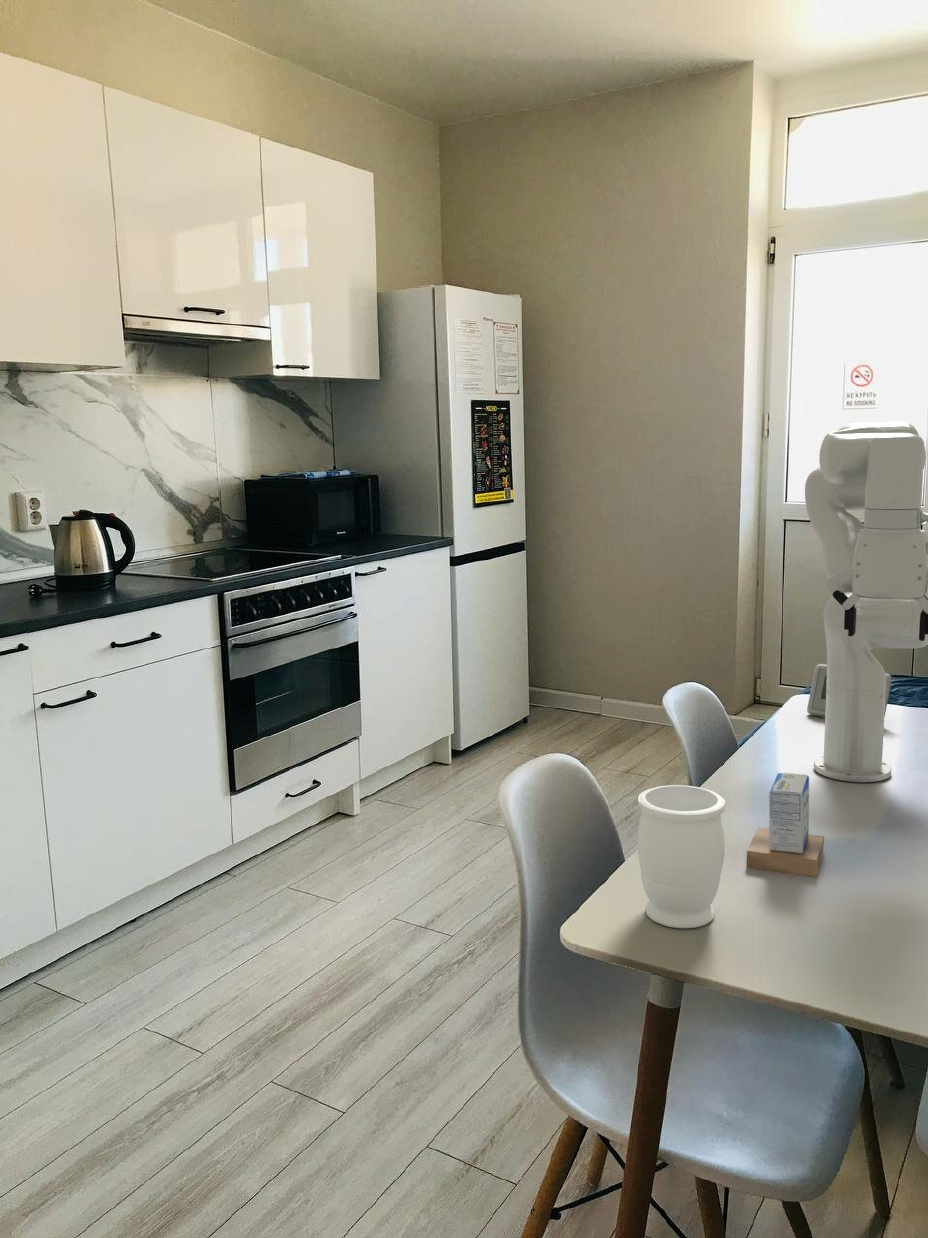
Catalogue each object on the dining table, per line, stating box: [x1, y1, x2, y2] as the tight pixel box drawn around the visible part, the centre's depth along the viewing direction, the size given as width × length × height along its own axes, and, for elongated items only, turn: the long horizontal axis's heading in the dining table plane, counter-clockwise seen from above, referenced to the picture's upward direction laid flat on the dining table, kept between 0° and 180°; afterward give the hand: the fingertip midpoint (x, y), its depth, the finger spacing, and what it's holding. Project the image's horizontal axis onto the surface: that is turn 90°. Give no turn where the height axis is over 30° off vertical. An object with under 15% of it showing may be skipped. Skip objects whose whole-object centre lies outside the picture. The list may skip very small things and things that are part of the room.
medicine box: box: [768, 772, 810, 854], centre depth 138 cm, size 8×4×9 cm, turn 156°
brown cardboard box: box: [746, 827, 825, 879], centre depth 139 cm, size 9×9×3 cm
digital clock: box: [806, 663, 892, 719], centre depth 207 cm, size 16×9×11 cm, turn 34°
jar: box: [637, 784, 726, 929], centre depth 123 cm, size 11×10×15 cm
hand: (886, 637), depth 149 cm, fingers open, 9 cm apart
